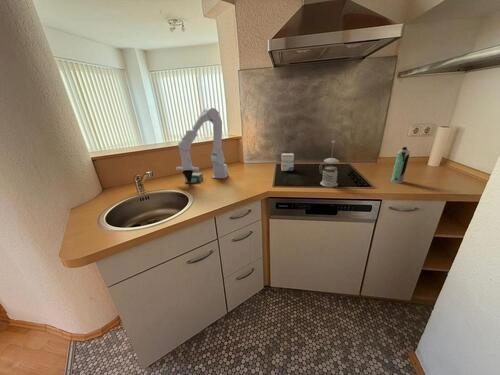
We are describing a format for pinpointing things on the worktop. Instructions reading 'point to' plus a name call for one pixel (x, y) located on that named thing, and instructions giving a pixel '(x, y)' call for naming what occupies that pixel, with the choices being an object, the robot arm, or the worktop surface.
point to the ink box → (287, 162)
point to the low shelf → (197, 176)
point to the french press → (331, 179)
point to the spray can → (400, 165)
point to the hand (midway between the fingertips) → (189, 181)
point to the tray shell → (193, 180)
